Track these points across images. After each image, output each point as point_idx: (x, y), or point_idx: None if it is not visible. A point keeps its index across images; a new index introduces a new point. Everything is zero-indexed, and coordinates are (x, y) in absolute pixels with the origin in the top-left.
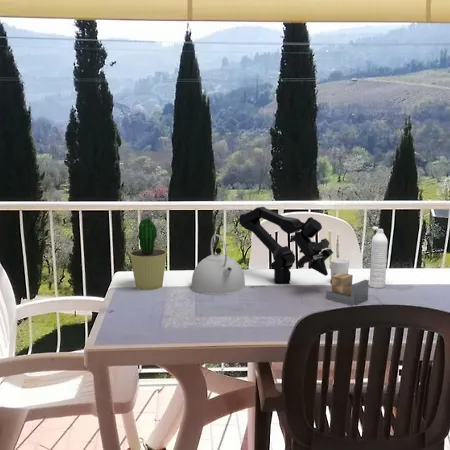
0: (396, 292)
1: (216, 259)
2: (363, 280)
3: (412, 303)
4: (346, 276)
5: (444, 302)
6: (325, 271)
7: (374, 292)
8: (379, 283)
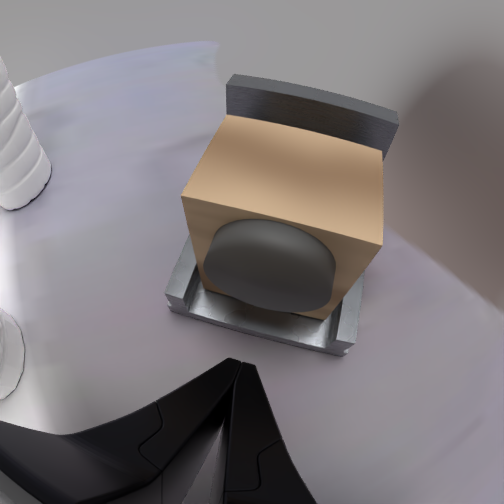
0: (94, 118)
1: None
2: (255, 87)
3: (204, 72)
4: (304, 137)
5: (164, 46)
6: (247, 384)
7: (108, 166)
8: (43, 153)
